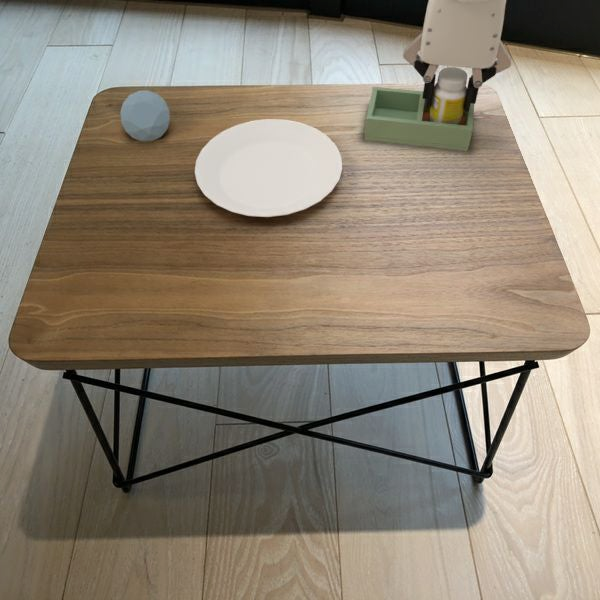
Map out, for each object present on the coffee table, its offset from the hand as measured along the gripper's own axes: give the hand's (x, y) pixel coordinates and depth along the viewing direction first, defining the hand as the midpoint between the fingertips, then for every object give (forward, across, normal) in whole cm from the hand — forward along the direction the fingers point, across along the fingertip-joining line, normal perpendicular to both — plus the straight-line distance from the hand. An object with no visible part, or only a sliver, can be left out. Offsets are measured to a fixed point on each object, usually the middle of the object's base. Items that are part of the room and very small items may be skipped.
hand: (447, 103), depth 90 cm
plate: (+5, +24, +14) cm, 28 cm away
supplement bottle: (+4, 0, 0) cm, 4 cm away
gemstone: (+5, +45, +7) cm, 46 cm away
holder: (+5, +4, 0) cm, 6 cm away
